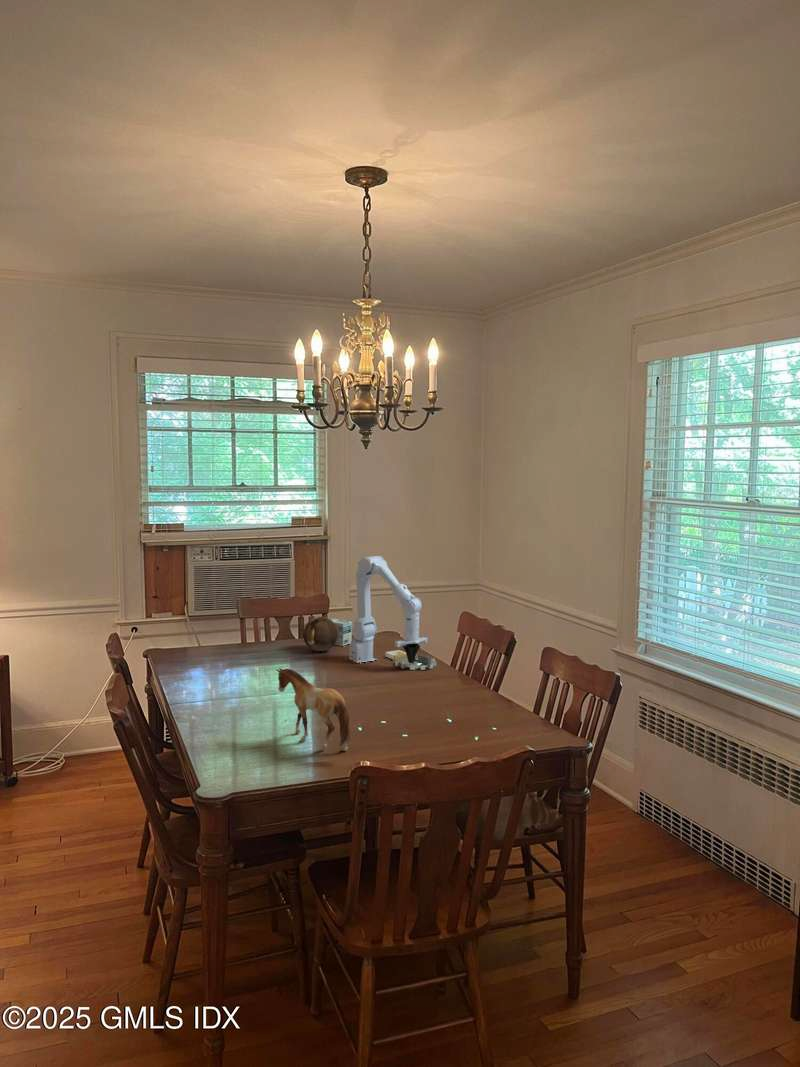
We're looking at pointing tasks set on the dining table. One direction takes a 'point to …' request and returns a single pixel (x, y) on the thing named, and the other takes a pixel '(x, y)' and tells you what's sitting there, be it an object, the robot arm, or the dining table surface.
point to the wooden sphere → (320, 634)
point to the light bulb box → (343, 631)
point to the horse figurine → (317, 705)
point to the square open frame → (395, 654)
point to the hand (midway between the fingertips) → (411, 662)
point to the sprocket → (416, 662)
